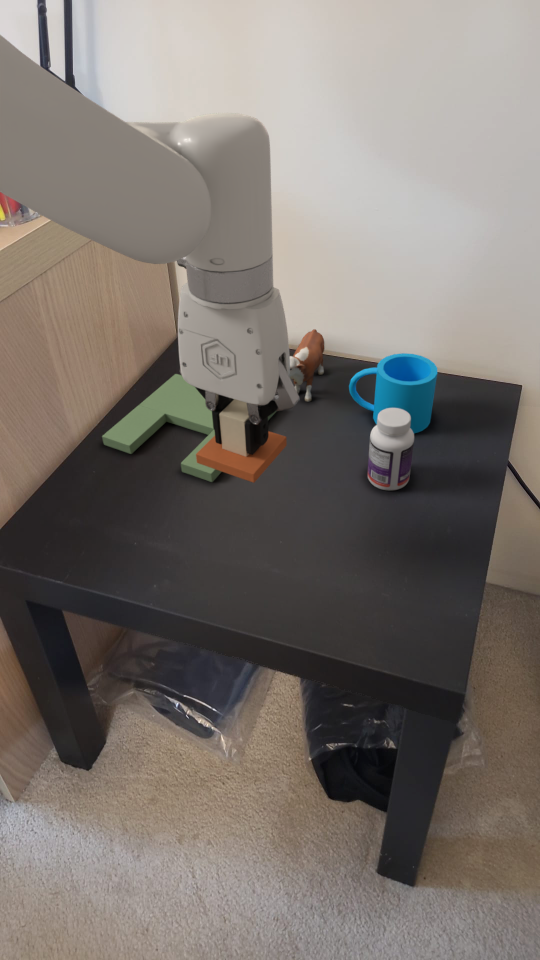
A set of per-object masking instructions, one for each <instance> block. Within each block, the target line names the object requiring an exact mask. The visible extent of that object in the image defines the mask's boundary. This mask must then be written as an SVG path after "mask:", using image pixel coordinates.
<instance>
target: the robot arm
mask: <svg viewBox="0 0 540 960" xmlns="http://www.w3.org/2000/svg"><path fill="white" fill-rule="evenodd" d="M270 141H271V140H270V135H269V133H268V130H267V128H266V126H265V124H264V123H263V122H262V121H260V120H259V119H258V118H256V117H254V116H251V115H248V114H243V113H238V112H214V113H205V114H201V115H196V116H193V117H190V118H187V119H186V120H183V121H172V122H171V121H170V122H168V121H167V122H150V121H149V122H148V121H147V122H146V121H145V122H142V121H125V120H123V119H122V118H120V117H118V116H117V115H115V114H114V113H112V112H111V111H109V110H107V109H106V108H104V107H103V106H101V105H100V104H97V103H96V102H95V101H93V100H92V99H90V98H89V97H87V96H86V95H84V94H82V93H81V92H79V91H78V90H76V89H74V88H73V87H71V86H70V85H68V84H67V83H66V82H64V81H63V80H61V79H60V78H58V77H57V76H55V75H53V73H51V72H50V71H48V70H47V69H45V68H43V66H41V65H40V64H38V63H36V62H35V61H34V60H33V59H31V58H30V57H28V55H26V54H25V53H23V51H21V50H19V48H17V47H16V46H15V45H13V44H12V43H11V42H10V41H9V40H8V39H6V38H5V37H4V36H2V35H1V34H0V193H1V194H3V195H4V196H6V197H8V198H10V199H12V200H13V201H15V202H17V203H19V204H20V205H22V206H24V207H26V208H27V209H29V210H31V211H33V212H35V213H37V214H39V215H40V216H42V217H44V218H46V219H48V220H50V221H52V222H53V223H55V224H58V225H59V226H62V227H63V228H65V229H67V230H70V231H71V232H74V233H76V234H78V235H80V236H82V237H84V238H87V239H89V240H91V241H93V242H95V243H97V244H99V245H101V246H103V247H106V248H108V249H110V250H112V251H114V252H116V253H118V254H121V255H123V256H125V257H128V258H130V259H133V260H134V261H138V262H141V263H147V264H153V265H165V264H171V263H175V262H176V264H177V266H178V267H180V268H183V269H185V270H186V279H187V282H185V283H184V284H183V285H182V286H181V288H180V294H179V303H178V313H177V318H178V319H177V343H178V345H177V347H178V359H179V375H182V377H183V379H184V380H185V381H186V382H187V383H188V384H190V385H192V386H194V387H195V388H196V389H197V390H198V392H199V393H200V394H201V395H202V396H203V398H204V399H205V404H206V407H207V408H208V409H209V410H210V411H212V419H213V428H214V430H215V441H216V443H218V444H222V439H221V428H220V417H219V414H220V413H221V412H222V411H223V410H224V409H225V408H226V407H227V406H228V405H229V404H230V403H231V402H232V401H233V400H234V399H235V400H239V401H242V402H246V403H247V409H248V415H249V419H248V420H247V421H246V423H245V439H246V451H247V453H248V454H251V455H253V454H254V453H255V452H256V451H257V450H258V449H259V447H260V446H261V445H262V446H263V445H264V444H265V443H266V442H267V440H268V435H269V434H268V431H269V420H268V416H270V415H271V414H273V413H274V412H275V411H276V412H278V411H279V412H280V411H285V410H291V409H294V407H295V406H296V405H297V404H298V403H299V402H300V400H301V399H300V396H299V394H297V391H296V389H295V384H294V382H293V381H292V379H290V356H291V355H290V341H289V334H288V325H287V318H286V313H285V309H284V304H283V300H282V296H281V293H280V290H279V289H278V288H277V287H274V256H273V255H274V253H273V252H274V251H273V249H274V248H273V247H274V246H273V212H272V211H273V210H272V208H273V207H272V177H271V176H272V171H271V170H272V169H271V167H272V165H271V143H270ZM276 412H275V413H276Z"/></svg>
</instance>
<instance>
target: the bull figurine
mask: <svg viewBox="0 0 540 960" xmlns="http://www.w3.org/2000/svg"><path fill="white" fill-rule="evenodd" d="M325 348H326V347H325V339H324V337H323V334H321V333H320V332H318V330H317V329H315V328H314V329H312V330H311V331H308V332H307V333H305V334H304V336H303V337H302V339H301V341H300V343H299V344H298V346H297V348H296V350H295V351H294V353H293V355H290V379H291V380H293V385H294V387H295V389H296V391H297V394H298V395H299V394H300V391H301V386H302V385H303V383H304V382H306V385H305V388H306V392H305V396H304V401H305V402H311V401H312V393H311V390H312V388H313V381H314V374H315V371H316V370H317V369H318V370H317V374H318V375H319V376H320V375H321V376H322V375H324V373H325V370H324V352H325Z"/></svg>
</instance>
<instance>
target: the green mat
mask: <svg viewBox="0 0 540 960" xmlns="http://www.w3.org/2000/svg"><path fill="white" fill-rule="evenodd" d="M276 413H277V411H275V412H274V413H273V414H271V415H270V416H268V421H269V420H270V419H271V418H272V417H273V416H274V415H275V414H276ZM166 423H169V424H173V425H175V426H179V427H182V428H185V429H189V430H192V431H195V432H198V433H201V434H204V435H207V436H206V437H205V438H204V439H203V440H202V441H201V442H200V443H199V444H198V445H197V446H196V447H195V448H194V449H193V450H192V451H191V452H190V453H189V454H188V455H187V456H186V457H185V458H184V459H183V460H182V461H181V462H180V468H181V472H182V473H184V474H187V475H190V476H193V477H195V478H199V479H201V480H204V481H207V482H210V483H213V482H214V481H215V480H216V479H217V478H218V477H219V476H220V475H221V473H223V472H222V471H219V470H216V469H213V468H210V467H207V466H205V465H202V464H199V463H197V459H196V454H197V453H198V452H199V451H200V450H201V449H202V448H203V447H204V446H205V445H206V444H207V443H208V442H209V441H210V440H211V439H212V438H213V437H214V436H215V430H214V428H213V419H212V411H210V410H209V409H208V408H207V407H206V404H205V399H204V398H203V396H202V395H201V394H200V393H199V392H198V390H197V389H196V388H195V387H194V386H192V385H190V384H188V383H187V382H186V381H185V380H184V379H183V377H182V375H181V374H180V373H179V374H178V373H174V374H173V375H172V376H171V377H170V378H169V379H168V380H166V381H165V382H164V383H162V384H161V385H160V386H159V387H158V388H157V389H156V390H155V391H153V392H152V393H151V394H150V395H149V396H147V397H146V398H145V399H144V400H143V401H141V403H139V404H137V406H136V407H134V409H132V410H131V411H130V412H129V413H127V414H126V415H125V416H124V417H123V418H121V419H120V420H119V421H118V422H117V423H116V424H114V426H112V427H111V428H110V429H109V430H107V431H106V432H104V434H102V436H101V438H102V443H103V445H104V446H107V447H109V448H112V449H116V450H118V451H121V452H124V453H126V454H130V455H133V454H134V452H135V451H136V450H137V449H138V448H140V446H142V445H143V444H144V443H145V442H146V441H147V440H149V438H150V437H152V436H153V435H154V434H155V433H156V432H157V431H159V429H160V428H161V427H163V425H165V424H166Z"/></svg>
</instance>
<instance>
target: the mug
mask: <svg viewBox="0 0 540 960" xmlns="http://www.w3.org/2000/svg"><path fill="white" fill-rule="evenodd" d="M369 375H376V377H375V378H376V379H375V388H374V389H375V391H374V402H373V404H372V403H371V402H368V401H367V400H365V399H364V398H362V396H360V394H359V392H358V391H357V383H358V382H359V380H360V379H362V378H363V377H365V376H369ZM437 379H438V367H437V365H436V363H435V362H433V361H432V360H431V359H429V358H427V357H425V356H423V355H419V354H414V353H407V352H406V353H405V352H403V353H401V352H400V353H394V354H389V355H386V356H385V357H384V358H381V359H380V361H379V362H378V363H377V365H376V367H369V368H368V367H367V368H364V369H362V370H360V371H358V372H356V373H355V374H353V376H352V378H351V379H350V380H349V385H348V390H349V394H350V396H351V398H352V400H353V401H354V402H355V403H356V404H358V405H359V406H360V407H362V408H364V409H366V410H368V411H371V412H373V415H372V419H373V421H374V423H375V425H377V418H378V414H379V412H381V411H382V410H384V409H387V408H399V409H403V410H405V411H407V412H408V413H409V414H410V416H411V425H410V428H411V429H412V431H413V433H414V435H415V434H418V433H421V432H423V431H424V430H425V429H427V428H428V427H429V425H430V424H431V419H432V412H433V406H434V398H435V392H436V387H437Z"/></svg>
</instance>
